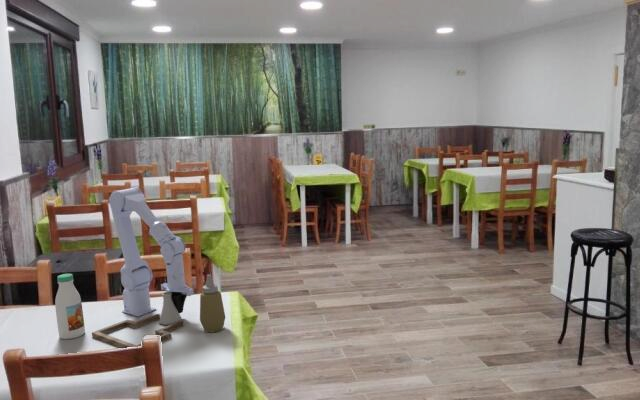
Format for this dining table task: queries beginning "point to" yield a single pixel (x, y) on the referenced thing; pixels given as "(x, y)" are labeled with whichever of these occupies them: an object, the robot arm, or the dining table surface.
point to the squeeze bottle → (211, 307)
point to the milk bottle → (68, 309)
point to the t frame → (123, 344)
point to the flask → (169, 310)
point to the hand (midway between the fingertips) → (179, 312)
